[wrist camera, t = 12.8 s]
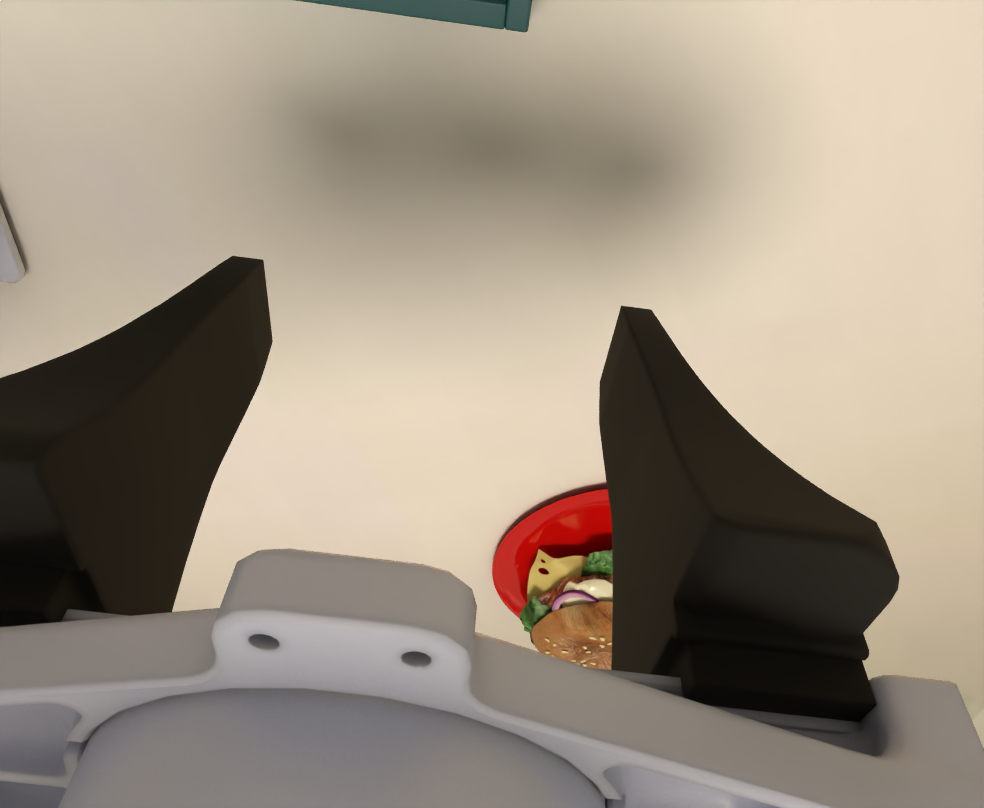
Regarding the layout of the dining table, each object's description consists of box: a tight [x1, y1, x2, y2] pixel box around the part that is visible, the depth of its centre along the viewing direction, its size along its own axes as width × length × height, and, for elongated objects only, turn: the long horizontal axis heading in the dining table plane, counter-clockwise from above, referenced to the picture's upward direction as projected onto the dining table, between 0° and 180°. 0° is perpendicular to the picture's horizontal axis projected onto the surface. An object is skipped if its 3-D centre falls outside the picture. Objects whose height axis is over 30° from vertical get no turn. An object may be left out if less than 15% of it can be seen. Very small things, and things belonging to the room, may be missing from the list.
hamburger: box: [492, 489, 613, 670], centre depth 36 cm, size 14×14×6 cm
